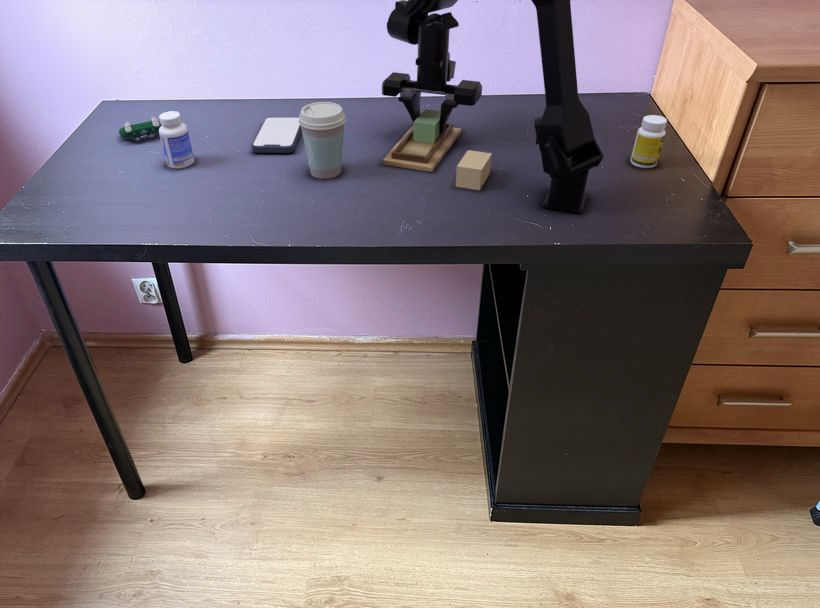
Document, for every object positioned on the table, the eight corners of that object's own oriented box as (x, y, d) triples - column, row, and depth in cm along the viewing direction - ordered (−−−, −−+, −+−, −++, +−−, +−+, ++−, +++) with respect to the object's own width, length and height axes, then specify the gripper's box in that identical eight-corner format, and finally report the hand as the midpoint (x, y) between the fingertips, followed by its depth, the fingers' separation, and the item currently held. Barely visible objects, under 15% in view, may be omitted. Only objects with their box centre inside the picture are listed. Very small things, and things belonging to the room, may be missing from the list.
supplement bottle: (658, 169, 121) (671, 125, 116) (631, 168, 122) (642, 123, 116) (654, 158, 125) (667, 114, 119) (628, 157, 125) (639, 113, 120)
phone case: (265, 124, 144) (250, 154, 132) (264, 116, 143) (249, 146, 131) (305, 124, 144) (294, 154, 131) (305, 116, 143) (293, 146, 130)
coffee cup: (313, 160, 129) (308, 98, 121) (354, 165, 127) (352, 102, 119) (296, 179, 123) (289, 116, 115) (339, 185, 121) (335, 121, 113)
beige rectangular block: (479, 190, 118) (481, 169, 115) (455, 186, 119) (456, 165, 116) (489, 173, 122) (491, 153, 120) (466, 170, 124) (467, 149, 121)
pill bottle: (200, 159, 131) (190, 111, 125) (183, 171, 128) (172, 122, 121) (177, 155, 133) (167, 107, 127) (161, 166, 129) (149, 118, 123)
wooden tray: (432, 172, 124) (432, 161, 122) (382, 164, 127) (382, 153, 125) (460, 133, 137) (461, 122, 135) (415, 126, 140) (415, 116, 138)
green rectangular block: (434, 144, 130) (435, 124, 128) (413, 141, 132) (413, 121, 129) (445, 130, 135) (446, 111, 133) (424, 128, 137) (425, 108, 134)
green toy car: (123, 148, 141) (121, 136, 135) (118, 131, 141) (116, 119, 135) (166, 139, 144) (166, 128, 138) (161, 123, 144) (160, 111, 138)
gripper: (493, 41, 125) (485, 122, 136) (401, 33, 131) (400, 111, 142) (477, 60, 118) (470, 143, 128) (380, 50, 124) (381, 131, 134)
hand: (429, 131), depth 133 cm, fingers open, 5 cm apart
